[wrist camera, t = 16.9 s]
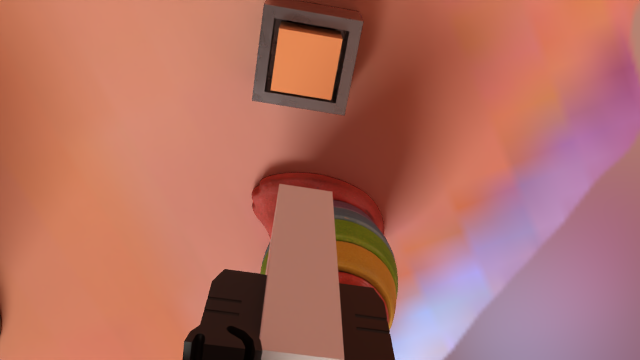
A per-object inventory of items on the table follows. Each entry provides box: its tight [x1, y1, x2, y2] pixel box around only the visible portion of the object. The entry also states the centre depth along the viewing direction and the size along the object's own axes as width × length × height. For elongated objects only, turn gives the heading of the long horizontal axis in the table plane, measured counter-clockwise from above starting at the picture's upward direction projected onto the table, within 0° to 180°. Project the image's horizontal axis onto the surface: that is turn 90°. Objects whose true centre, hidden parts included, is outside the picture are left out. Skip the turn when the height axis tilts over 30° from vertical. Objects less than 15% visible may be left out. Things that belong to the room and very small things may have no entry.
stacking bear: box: [252, 173, 398, 330], centre depth 36 cm, size 11×10×18 cm
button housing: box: [252, 0, 363, 115], centre depth 36 cm, size 6×6×4 cm
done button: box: [271, 21, 343, 100], centre depth 35 cm, size 4×4×2 cm
